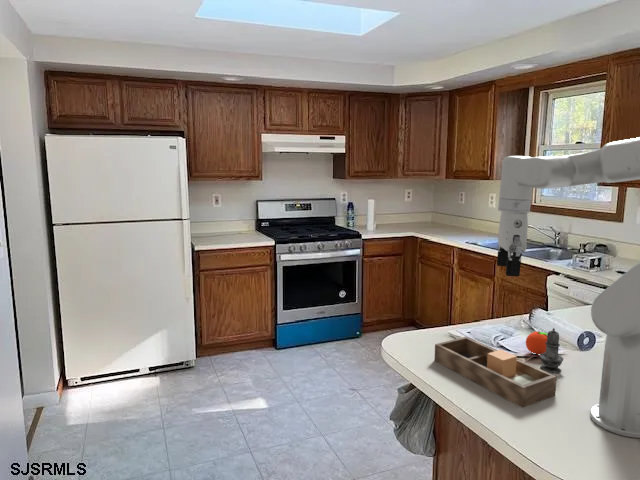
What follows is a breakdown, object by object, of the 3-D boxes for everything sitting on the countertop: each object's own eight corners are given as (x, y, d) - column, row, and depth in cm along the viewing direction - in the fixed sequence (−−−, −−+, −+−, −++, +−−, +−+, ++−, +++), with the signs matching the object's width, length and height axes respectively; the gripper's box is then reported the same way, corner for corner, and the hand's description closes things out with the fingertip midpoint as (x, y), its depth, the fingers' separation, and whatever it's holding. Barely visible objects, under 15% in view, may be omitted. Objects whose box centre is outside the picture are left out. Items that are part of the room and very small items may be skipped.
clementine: (551, 351, 143) (553, 328, 142) (556, 360, 137) (558, 337, 135) (523, 349, 145) (524, 326, 144) (527, 358, 138) (528, 335, 137)
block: (515, 374, 123) (516, 356, 122) (502, 378, 120) (503, 360, 119) (500, 367, 127) (501, 349, 126) (486, 371, 125) (487, 353, 124)
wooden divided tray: (555, 395, 117) (556, 376, 116) (522, 407, 111) (523, 387, 110) (465, 352, 143) (465, 336, 142) (434, 360, 137) (435, 344, 136)
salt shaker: (565, 375, 128) (568, 332, 126) (541, 373, 129) (545, 331, 127) (558, 365, 133) (562, 325, 131) (536, 364, 134) (539, 323, 132)
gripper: (540, 211, 111) (532, 281, 115) (520, 201, 128) (513, 263, 131) (507, 209, 112) (500, 279, 116) (491, 200, 129) (485, 261, 132)
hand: (507, 270), depth 124 cm, fingers open, 9 cm apart
